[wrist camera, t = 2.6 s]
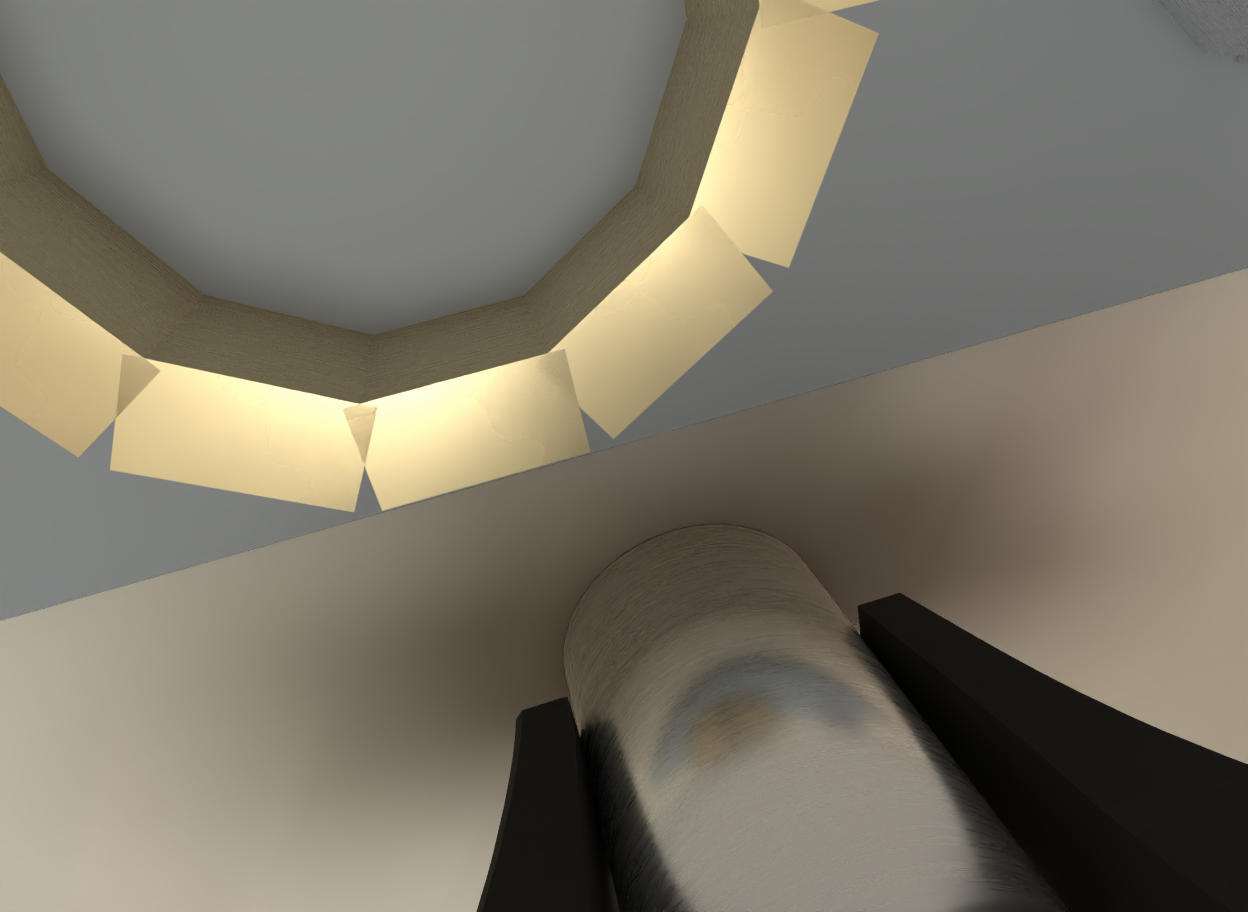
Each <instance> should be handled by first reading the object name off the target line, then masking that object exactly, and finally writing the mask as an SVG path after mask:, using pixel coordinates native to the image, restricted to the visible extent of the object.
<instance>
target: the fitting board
mask: <svg viewBox="0 0 1248 912" xmlns="http://www.w3.org/2000/svg"><path fill="white" fill-rule="evenodd" d="M830 13H833V14H835V15H837V16H840V17H842V18H845V19H847V20H849V21H852V22H854V23H856V24H859V25H861V26H863V27H866V28H868V29H870V30H873V31H875V32H878V33H879V35H878V37H877V40H876V42H875V45H874V48H873V50H872V53H871V55H870V58H869V61H868V63H867V66H866V68H865V71H864V74H863V76H862V79H861V81H860V84H859V87H858V89H857V92H856V94H855V97H854V100H853V102H852V105H851V107H850V110H849V113H848V115H847V118H846V120H845V123H844V126H843V128H842V131H841V133H840V136H839V139H838V141H837V144H836V146H835V149H834V152H833V154H832V157H831V159H830V162H829V165H828V167H827V170H826V172H825V175H824V178H823V180H822V183H821V185H820V188H819V191H818V193H817V196H816V198H815V201H814V204H813V206H812V209H811V212H810V214H809V217H808V219H807V222H806V225H805V227H804V230H803V232H802V235H801V238H800V240H799V243H798V245H797V248H796V251H795V253H794V256H793V258H792V261H791V264H790V266H789V268H788V267H785V266H781V265H778V264H775V263H772V262H768V261H765V260H762V259H759V258H755V257H752V256H749V255H746V254H743V255H744V256H745V258H746V259H747V260H748V261H749V263H750V264H751V265H752V266H753V267H754V269H755V270H756V271H757V272H758V274H759V275H760V276H761V277H762V278H763V280H764V281H765V282H766V283H767V285H768V286H769V287H770V288H771V289H772V291H773V292H772V293H771V294H770V295H768V296H767V297H766V298H765V299H764V300H763V301H762V302H761V303H760V304H759V305H758V306H757V307H756V308H754V309H753V310H752V311H751V312H750V313H749V314H748V315H747V316H746V317H745V318H744V319H743V320H741V321H740V322H739V323H738V324H737V325H736V326H735V327H734V328H733V329H732V330H731V331H730V332H729V333H727V334H726V335H725V336H724V337H723V338H722V339H721V340H720V341H719V342H718V343H717V344H716V345H715V346H713V347H712V348H711V349H710V350H709V351H708V352H707V353H706V354H705V355H704V356H703V357H702V358H700V359H699V360H698V361H697V362H696V363H695V364H694V365H693V366H692V367H691V368H690V369H689V370H688V371H686V372H685V373H684V374H683V375H682V376H681V377H680V378H679V379H678V380H677V381H676V382H675V383H674V384H672V385H671V386H670V387H669V388H668V389H667V390H666V391H665V392H664V393H663V394H662V395H661V396H659V397H658V398H657V399H656V400H655V401H654V402H653V403H652V404H651V405H650V406H649V407H648V408H647V409H645V410H644V411H643V412H642V413H641V414H640V415H639V416H638V417H637V418H636V419H635V420H634V421H633V422H631V423H630V424H629V425H628V426H627V427H626V428H625V429H624V430H623V431H622V432H621V433H620V434H618V435H617V436H616V437H615V438H614V439H613V438H612V437H611V436H610V435H609V434H608V433H607V432H605V431H604V430H603V429H602V428H601V427H600V426H599V425H598V424H597V423H596V422H595V421H594V420H593V419H592V418H591V417H590V416H589V415H588V414H587V413H585V412H584V411H583V410H582V409H581V408H580V407H579V408H580V412H581V416H582V419H583V423H584V427H585V431H586V435H587V439H588V443H589V447H590V451H591V452H589V453H585V454H582V455H578V456H574V457H571V458H567V459H564V460H560V461H557V462H553V463H550V464H546V465H543V466H539V467H536V468H532V469H529V470H525V471H521V472H518V473H514V474H511V475H507V476H504V477H500V478H497V479H493V480H490V481H486V482H483V483H479V484H476V485H472V486H468V487H465V488H461V489H458V490H454V491H451V492H447V493H444V494H440V495H437V496H433V497H430V498H426V499H422V500H419V501H415V502H412V503H408V504H405V505H401V506H398V507H394V508H391V509H387V510H384V511H382V509H381V507H380V504H379V502H378V499H377V496H376V494H375V491H374V489H373V486H372V484H371V481H370V479H369V476H368V474H367V471H366V468H365V466H364V471H363V475H362V480H361V484H360V488H359V493H358V497H357V502H356V506H355V511H354V512H350V511H344V510H338V509H332V508H327V507H321V506H315V505H309V504H303V503H298V502H292V501H286V500H280V499H275V498H269V497H263V496H257V495H252V494H246V493H240V492H234V491H228V490H223V489H217V488H211V487H205V486H200V485H194V484H188V483H182V482H176V481H171V480H165V479H159V478H153V477H148V476H142V475H136V474H130V473H125V472H119V471H113V470H110V464H111V455H112V446H113V437H114V427H115V420H114V421H113V422H112V423H111V424H110V425H109V426H108V427H107V428H106V429H105V430H104V431H103V432H102V433H101V434H100V435H99V436H98V438H97V439H96V440H95V441H94V442H93V443H92V444H91V445H90V446H89V447H88V448H87V449H86V450H85V451H84V452H83V453H82V454H81V455H80V456H79V458H78V457H77V456H75V455H74V454H72V453H71V452H69V451H68V450H66V449H65V448H63V447H62V446H60V445H59V444H57V443H55V442H54V441H52V440H51V439H49V438H48V437H46V436H45V435H43V434H42V433H40V432H39V431H37V430H36V429H34V428H33V427H31V426H30V425H28V424H27V423H25V422H24V421H22V420H20V419H19V418H17V417H16V416H14V415H13V414H11V413H10V412H8V411H7V410H5V409H4V408H2V407H1V406H0V621H1V620H5V619H8V618H12V617H15V616H19V615H23V614H26V613H30V612H33V611H37V610H40V609H44V608H47V607H51V606H54V605H58V604H61V603H65V602H68V601H72V600H76V599H79V598H83V597H86V596H90V595H93V594H97V593H100V592H104V591H107V590H111V589H114V588H118V587H121V586H125V585H129V584H132V583H136V582H139V581H143V580H146V579H150V578H153V577H157V576H160V575H164V574H167V573H171V572H174V571H178V570H182V569H185V568H189V567H192V566H196V565H199V564H203V563H206V562H210V561H213V560H217V559H220V558H224V557H227V556H231V555H235V554H238V553H242V552H245V551H249V550H252V549H256V548H259V547H263V546H266V545H270V544H273V543H277V542H280V541H284V540H287V539H291V538H295V537H298V536H302V535H305V534H309V533H312V532H316V531H319V530H323V529H326V528H330V527H333V526H337V525H340V524H344V523H348V522H351V521H355V520H358V519H362V518H365V517H369V516H372V515H376V514H379V513H383V512H386V511H390V510H393V509H397V508H401V507H404V506H408V505H411V504H415V503H418V502H422V501H425V500H429V499H432V498H436V497H439V496H443V495H446V494H450V493H454V492H457V491H461V490H464V489H468V488H471V487H475V486H478V485H482V484H485V483H489V482H492V481H496V480H499V479H503V478H507V477H510V476H514V475H517V474H521V473H524V472H528V471H531V470H535V469H538V468H542V467H545V466H549V465H552V464H556V463H560V462H563V461H567V460H570V459H574V458H577V457H581V456H584V455H588V454H591V453H595V452H598V451H602V450H605V449H609V448H613V447H616V446H620V445H623V444H627V443H630V442H634V441H637V440H641V439H644V438H648V437H651V436H655V435H658V434H662V433H666V432H669V431H673V430H676V429H680V428H683V427H687V426H690V425H694V424H697V423H701V422H704V421H708V420H711V419H715V418H718V417H722V416H726V415H729V414H733V413H736V412H740V411H743V410H747V409H750V408H754V407H757V406H761V405H764V404H768V403H771V402H775V401H779V400H782V399H786V398H789V397H793V396H796V395H800V394H803V393H807V392H810V391H814V390H817V389H821V388H824V387H828V386H832V385H835V384H839V383H842V382H846V381H849V380H853V379H856V378H860V377H863V376H867V375H870V374H874V373H877V372H881V371H885V370H888V369H892V368H895V367H899V366H902V365H906V364H909V363H913V362H916V361H920V360H923V359H927V358H930V357H934V356H938V355H941V354H945V353H948V352H952V351H955V350H959V349H962V348H966V347H969V346H973V345H976V344H980V343H983V342H987V341H991V340H994V339H998V338H1001V337H1005V336H1008V335H1012V334H1015V333H1019V332H1022V331H1026V330H1029V329H1033V328H1036V327H1040V326H1044V325H1047V324H1051V323H1054V322H1058V321H1061V320H1065V319H1068V318H1072V317H1075V316H1079V315H1082V314H1086V313H1089V312H1093V311H1097V310H1100V309H1104V308H1107V307H1111V306H1114V305H1118V304H1121V303H1125V302H1128V301H1132V300H1135V299H1139V298H1142V297H1146V296H1149V295H1153V294H1157V293H1160V292H1164V291H1167V290H1171V289H1174V288H1178V287H1181V286H1185V285H1188V284H1192V283H1195V282H1199V281H1202V280H1206V279H1210V278H1213V277H1217V276H1220V275H1224V274H1227V273H1231V272H1234V271H1238V270H1241V269H1245V268H1248V63H1237V55H1206V54H1205V53H1204V52H1203V51H1202V50H1201V49H1200V48H1199V47H1198V46H1197V44H1196V43H1195V42H1194V41H1193V40H1192V39H1191V38H1190V37H1189V36H1188V35H1187V34H1186V32H1185V31H1184V30H1183V29H1182V28H1181V27H1180V26H1179V25H1178V24H1177V23H1176V21H1175V20H1174V19H1173V18H1172V17H1171V16H1170V15H1169V14H1168V13H1167V12H1166V10H1165V9H1164V8H1163V7H1162V6H1161V5H1160V4H1159V3H1158V2H1157V1H1156V0H878V1H874V2H870V3H866V4H861V5H857V6H853V7H849V8H844V9H840V10H836V11H832V12H830ZM686 20H687V17H686V10H685V4H684V0H0V74H1V76H2V78H3V80H4V82H5V84H6V86H7V88H8V90H9V92H10V94H11V96H12V98H13V100H14V102H15V104H16V106H17V108H18V110H19V112H20V114H21V116H22V118H23V120H24V122H25V124H26V126H27V128H28V130H29V132H30V134H31V136H32V138H33V140H34V142H35V144H36V146H37V148H38V150H39V152H40V154H41V156H42V158H43V160H44V162H45V164H46V166H47V168H48V169H49V170H50V171H51V172H53V173H54V174H55V175H56V176H58V177H59V178H60V179H61V180H63V181H64V182H65V183H66V184H68V185H69V186H70V187H71V188H73V189H74V190H75V191H76V192H78V193H79V194H80V195H81V196H83V197H84V198H85V199H86V200H88V201H89V202H90V203H91V204H92V205H94V206H95V207H96V208H97V209H99V210H100V211H101V212H102V213H104V214H105V215H106V216H107V217H109V218H110V219H111V220H112V221H114V222H115V223H116V224H117V225H119V226H120V227H121V228H122V229H124V230H125V231H126V232H127V233H129V234H130V235H131V236H132V237H134V238H135V239H136V240H137V241H139V242H140V243H141V244H142V245H143V246H145V247H146V248H147V249H148V250H150V251H151V252H152V253H153V254H155V255H156V256H157V257H158V258H160V259H161V260H162V261H163V262H165V263H166V264H167V265H168V266H170V267H171V268H172V269H173V270H175V271H176V272H177V273H178V274H180V275H181V276H182V277H183V278H185V279H186V280H187V281H188V282H189V283H191V284H192V285H193V286H194V287H196V288H197V289H198V290H199V291H201V292H202V293H203V294H204V295H208V296H212V297H216V298H220V299H225V300H229V301H233V302H237V303H241V304H246V305H250V306H254V307H258V308H262V309H267V310H271V311H275V312H279V313H283V314H287V315H292V316H296V317H300V318H304V319H308V320H313V321H317V322H321V323H325V324H329V325H334V326H338V327H342V328H346V329H350V330H355V331H359V332H363V333H367V334H371V335H375V334H379V333H382V332H386V331H390V330H394V329H398V328H401V327H405V326H409V325H413V324H417V323H421V322H424V321H428V320H432V319H436V318H440V317H443V316H447V315H451V314H455V313H459V312H463V311H466V310H470V309H474V308H478V307H482V306H485V305H489V304H493V303H497V302H501V301H505V300H508V299H512V298H516V297H520V296H524V295H525V294H526V293H527V292H528V291H529V290H530V289H531V288H532V287H533V286H534V285H535V284H536V283H537V282H538V281H539V280H540V279H541V278H542V277H543V276H544V275H545V274H546V273H547V272H548V271H549V270H550V269H551V268H552V267H553V266H554V265H555V264H556V263H557V262H558V261H559V260H560V259H561V258H562V257H563V256H565V255H566V254H567V253H568V252H569V251H570V250H571V249H572V248H573V247H574V246H575V245H576V244H577V243H578V242H579V241H580V240H581V239H582V238H583V237H584V236H585V235H586V234H587V233H588V232H589V231H590V230H591V229H592V228H593V227H594V226H595V225H596V224H597V223H598V222H599V221H600V220H601V219H602V218H603V217H604V216H605V215H606V214H607V213H608V212H609V211H610V210H611V209H612V208H613V207H615V206H616V205H617V204H618V203H619V202H620V201H621V200H622V199H623V198H624V197H625V196H626V195H627V194H628V193H629V192H630V191H631V190H632V189H633V188H634V187H635V185H636V182H637V179H638V176H639V172H640V169H641V166H642V163H643V159H644V156H645V153H646V150H647V146H648V143H649V140H650V137H651V134H652V130H653V127H654V124H655V121H656V117H657V114H658V111H659V108H660V104H661V101H662V98H663V95H664V91H665V88H666V85H667V82H668V79H669V75H670V72H671V69H672V66H673V62H674V59H675V56H676V53H677V49H678V46H679V43H680V40H681V36H682V33H683V30H684V27H685V24H686Z"/></svg>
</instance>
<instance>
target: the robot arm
mask: <svg viewBox="0 0 1248 912" xmlns="http://www.w3.org/2000/svg"><path fill="white" fill-rule="evenodd" d="M858 614H859V624H860V635H861V637H862V639H863V640H864V641H865V643H866V644H867V645H868V647H869V648H870V649H871V651H872V652H873V653H874V654H875V656H876V657H877V658H878V660H879V661H880V662H881V664H882V665H883V666H884V668H885V669H886V670H887V672H888V673H889V674H890V676H891V677H892V678H893V680H894V681H895V682H896V683H897V685H898V686H899V687H900V689H901V690H902V691H903V693H904V694H905V695H906V697H907V698H908V699H909V701H910V702H911V703H912V705H913V706H914V707H915V709H916V710H917V711H918V712H919V714H920V715H921V716H922V718H923V719H924V720H925V722H926V723H927V724H928V726H929V727H930V728H931V730H932V731H933V732H934V734H935V735H936V736H937V738H938V739H939V740H940V741H941V743H942V744H943V745H944V747H945V748H946V749H947V751H948V752H949V753H950V755H951V756H952V757H953V759H954V760H955V761H956V763H957V764H958V765H959V767H960V768H961V769H962V770H963V772H964V773H965V774H966V776H967V777H968V778H969V780H970V781H971V782H972V784H973V785H974V786H975V788H976V789H977V790H978V792H979V793H980V794H981V796H982V797H983V798H984V799H985V801H986V802H987V803H988V805H989V806H990V807H991V809H992V810H993V811H994V813H995V814H996V815H997V817H998V818H999V819H1000V821H1001V822H1002V823H1003V825H1004V826H1005V827H1006V828H1007V830H1008V831H1009V832H1010V834H1011V835H1012V836H1013V838H1014V839H1015V840H1016V842H1017V843H1018V844H1019V846H1020V847H1021V848H1022V850H1023V851H1024V852H1025V854H1026V855H1027V856H1028V857H1029V859H1030V860H1031V861H1032V863H1033V864H1034V865H1035V867H1036V868H1037V869H1038V871H1039V872H1040V873H1041V875H1042V876H1043V877H1044V879H1045V880H1046V881H1047V883H1048V884H1049V885H1050V886H1051V888H1052V889H1053V890H1054V892H1055V893H1056V894H1057V896H1058V897H1059V898H1060V900H1061V901H1062V902H1063V904H1064V905H1065V906H1066V908H1067V909H1068V910H1069V912H1248V764H1245V763H1243V762H1240V761H1237V760H1235V759H1232V758H1229V757H1227V756H1224V755H1222V754H1219V753H1217V752H1214V751H1212V750H1209V749H1207V748H1204V747H1202V746H1199V745H1197V744H1194V743H1192V742H1190V741H1187V740H1185V739H1182V738H1180V737H1177V736H1175V735H1172V734H1170V733H1167V732H1165V731H1162V730H1160V729H1158V728H1156V727H1153V726H1151V725H1149V724H1146V723H1144V722H1142V721H1140V720H1137V719H1135V718H1133V717H1131V716H1129V715H1126V714H1124V713H1122V712H1120V711H1118V710H1116V709H1114V708H1112V707H1110V706H1107V705H1105V704H1103V703H1101V702H1099V701H1097V700H1095V699H1093V698H1091V697H1089V696H1086V695H1084V694H1082V693H1080V692H1078V691H1076V690H1074V689H1072V688H1070V687H1068V686H1066V685H1064V684H1062V683H1060V682H1058V681H1056V680H1054V679H1052V678H1050V677H1049V676H1047V675H1045V674H1043V673H1041V672H1039V671H1037V670H1035V669H1034V668H1032V667H1030V666H1028V665H1026V664H1024V663H1022V662H1020V661H1019V660H1017V659H1015V658H1013V657H1011V656H1009V655H1007V654H1006V653H1004V652H1002V651H1000V650H998V649H997V648H995V647H993V646H991V645H990V644H988V643H986V642H984V641H983V640H981V639H979V638H977V637H976V636H974V635H972V634H970V633H969V632H967V631H965V630H963V629H962V628H960V627H958V626H956V625H955V624H953V623H951V622H949V621H948V620H946V619H944V618H943V617H941V616H939V615H937V614H936V613H934V612H932V611H930V610H929V609H927V608H925V607H924V606H922V605H920V604H918V603H917V602H915V601H913V600H911V599H910V598H908V597H906V596H904V595H903V594H901V593H898V594H894V595H891V596H888V597H885V598H881V599H878V600H875V601H872V602H869V603H865V604H862V605H859V606H858ZM477 912H620V911H619V907H618V902H617V898H616V894H615V889H614V885H613V880H612V876H611V872H610V867H609V863H608V859H607V854H606V850H605V845H604V841H603V837H602V832H601V828H600V823H599V819H598V814H597V810H596V805H595V801H594V796H593V791H592V787H591V782H590V778H589V774H588V769H587V765H586V761H585V756H584V752H583V747H582V743H581V739H580V735H579V732H578V729H577V725H576V722H575V719H574V716H573V713H572V709H571V706H570V703H569V700H568V697H564V698H560V699H557V700H554V701H551V702H548V703H544V704H541V705H538V706H535V707H531V708H528V709H525V710H522V712H521V713H520V715H519V716H518V717H517V719H516V732H515V743H514V752H513V759H512V766H511V772H510V778H509V783H508V789H507V794H506V800H505V805H504V809H503V813H502V818H501V822H500V826H499V831H498V835H497V839H496V844H495V848H494V852H493V856H492V860H491V864H490V868H489V871H488V875H487V878H486V882H485V885H484V889H483V892H482V895H481V899H480V902H479V906H478V909H477Z"/></svg>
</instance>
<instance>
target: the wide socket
mask: <svg viewBox="0 0 1248 912" xmlns="http://www.w3.org/2000/svg"><path fill="white" fill-rule="evenodd" d="M874 1H878V0H684V4H685V10H686V17H687V20H686V24H685V27H684V30H683V33H682V36H681V40H680V43H679V46H678V49H677V53H676V56H675V59H674V62H673V66H672V69H671V72H670V75H669V79H668V82H667V85H666V88H665V91H664V95H663V98H662V101H661V104H660V108H659V111H658V114H657V117H656V121H655V124H654V127H653V130H652V134H651V137H650V140H649V143H648V146H647V150H646V153H645V156H644V159H643V163H642V166H641V169H640V172H639V176H638V179H637V182H636V185H635V187H634V188H633V189H632V190H631V191H630V192H629V193H628V194H627V195H626V196H625V197H624V198H623V199H622V200H621V201H620V202H619V203H618V204H617V205H616V206H615V207H613V208H612V209H611V210H610V211H609V212H608V213H607V214H606V215H605V216H604V217H603V218H602V219H601V220H600V221H599V222H598V223H597V224H596V225H595V226H594V227H593V228H592V229H591V230H590V231H589V232H588V233H587V234H586V235H585V236H584V237H583V238H582V239H581V240H580V241H579V242H578V243H577V244H576V245H575V246H574V247H573V248H572V249H571V250H570V251H569V252H568V253H567V254H566V255H565V256H563V257H562V258H561V259H560V260H559V261H558V262H557V263H556V264H555V265H554V266H553V267H552V268H551V269H550V270H549V271H548V272H547V273H546V274H545V275H544V276H543V277H542V278H541V279H540V280H539V281H538V282H537V283H536V284H535V285H534V286H533V287H532V288H531V289H530V290H529V291H528V292H527V293H526V294H525V295H524V296H520V297H516V298H512V299H508V300H505V301H501V302H497V303H493V304H489V305H485V306H482V307H478V308H474V309H470V310H466V311H463V312H459V313H455V314H451V315H447V316H443V317H440V318H436V319H432V320H428V321H424V322H421V323H417V324H413V325H409V326H405V327H401V328H398V329H394V330H390V331H386V332H382V333H379V334H375V335H371V334H367V333H363V332H359V331H355V330H350V329H346V328H342V327H338V326H334V325H329V324H325V323H321V322H317V321H313V320H308V319H304V318H300V317H296V316H292V315H287V314H283V313H279V312H275V311H271V310H267V309H262V308H258V307H254V306H250V305H246V304H241V303H237V302H233V301H229V300H225V299H220V298H216V297H212V296H208V295H204V294H203V293H202V292H201V291H199V290H198V289H197V288H196V287H194V286H193V285H192V284H191V283H189V282H188V281H187V280H186V279H185V278H183V277H182V276H181V275H180V274H178V273H177V272H176V271H175V270H173V269H172V268H171V267H170V266H168V265H167V264H166V263H165V262H163V261H162V260H161V259H160V258H158V257H157V256H156V255H155V254H153V253H152V252H151V251H150V250H148V249H147V248H146V247H145V246H143V245H142V244H141V243H140V242H139V241H137V240H136V239H135V238H134V237H132V236H131V235H130V234H129V233H127V232H126V231H125V230H124V229H122V228H121V227H120V226H119V225H117V224H116V223H115V222H114V221H112V220H111V219H110V218H109V217H107V216H106V215H105V214H104V213H102V212H101V211H100V210H99V209H97V208H96V207H95V206H94V205H92V204H91V203H90V202H89V201H88V200H86V199H85V198H84V197H83V196H81V195H80V194H79V193H78V192H76V191H75V190H74V189H73V188H71V187H70V186H69V185H68V184H66V183H65V182H64V181H63V180H61V179H60V178H59V177H58V176H56V175H55V174H54V173H53V172H51V171H50V170H49V169H48V168H47V166H46V164H45V162H44V160H43V158H42V156H41V154H40V152H39V150H38V148H37V146H36V144H35V142H34V140H33V138H32V136H31V134H30V132H29V130H28V128H27V126H26V124H25V122H24V120H23V118H22V116H21V114H20V112H19V110H18V108H17V106H16V104H15V102H14V100H13V98H12V96H11V94H10V92H9V90H8V88H7V86H6V84H5V82H4V80H3V78H2V76H1V74H0V406H1V407H2V408H4V409H5V410H7V411H8V412H10V413H11V414H13V415H14V416H16V417H17V418H19V419H20V420H22V421H24V422H25V423H27V424H28V425H30V426H31V427H33V428H34V429H36V430H37V431H39V432H40V433H42V434H43V435H45V436H46V437H48V438H49V439H51V440H52V441H54V442H55V443H57V444H59V445H60V446H62V447H63V448H65V449H66V450H68V451H69V452H71V453H72V454H74V455H75V456H77V457H78V458H79V456H80V455H81V454H82V453H83V452H84V451H85V450H86V449H87V448H88V447H89V446H90V445H91V444H92V443H93V442H94V441H95V440H96V439H97V438H98V436H99V435H100V434H101V433H102V432H103V431H104V430H105V429H106V428H107V427H108V426H109V425H110V424H111V423H112V422H113V421H114V420H115V427H114V437H113V446H112V455H111V464H110V470H113V471H119V472H125V473H130V474H136V475H142V476H148V477H153V478H159V479H165V480H171V481H176V482H182V483H188V484H194V485H200V486H205V487H211V488H217V489H223V490H228V491H234V492H240V493H246V494H252V495H257V496H263V497H269V498H275V499H280V500H286V501H292V502H298V503H303V504H309V505H315V506H321V507H327V508H332V509H338V510H344V511H350V512H354V511H355V506H356V502H357V497H358V493H359V488H360V484H361V480H362V475H363V471H364V466H365V468H366V471H367V474H368V476H369V479H370V481H371V484H372V486H373V489H374V491H375V494H376V496H377V499H378V502H379V504H380V507H381V509H382V511H384V510H387V509H391V508H394V507H398V506H401V505H405V504H408V503H412V502H415V501H419V500H422V499H426V498H430V497H433V496H437V495H440V494H444V493H447V492H451V491H454V490H458V489H461V488H465V487H468V486H472V485H476V484H479V483H483V482H486V481H490V480H493V479H497V478H500V477H504V476H507V475H511V474H514V473H518V472H521V471H525V470H529V469H532V468H536V467H539V466H543V465H546V464H550V463H553V462H557V461H560V460H564V459H567V458H571V457H574V456H578V455H582V454H585V453H589V452H591V451H590V447H589V443H588V439H587V435H586V431H585V427H584V423H583V419H582V416H581V412H580V408H581V409H582V410H583V411H584V412H585V413H587V414H588V415H589V416H590V417H591V418H592V419H593V420H594V421H595V422H596V423H597V424H598V425H599V426H600V427H601V428H602V429H603V430H604V431H605V432H607V433H608V434H609V435H610V436H611V437H612V438H613V439H614V438H615V437H616V436H617V435H618V434H620V433H621V432H622V431H623V430H624V429H625V428H626V427H627V426H628V425H629V424H630V423H631V422H633V421H634V420H635V419H636V418H637V417H638V416H639V415H640V414H641V413H642V412H643V411H644V410H645V409H647V408H648V407H649V406H650V405H651V404H652V403H653V402H654V401H655V400H656V399H657V398H658V397H659V396H661V395H662V394H663V393H664V392H665V391H666V390H667V389H668V388H669V387H670V386H671V385H672V384H674V383H675V382H676V381H677V380H678V379H679V378H680V377H681V376H682V375H683V374H684V373H685V372H686V371H688V370H689V369H690V368H691V367H692V366H693V365H694V364H695V363H696V362H697V361H698V360H699V359H700V358H702V357H703V356H704V355H705V354H706V353H707V352H708V351H709V350H710V349H711V348H712V347H713V346H715V345H716V344H717V343H718V342H719V341H720V340H721V339H722V338H723V337H724V336H725V335H726V334H727V333H729V332H730V331H731V330H732V329H733V328H734V327H735V326H736V325H737V324H738V323H739V322H740V321H741V320H743V319H744V318H745V317H746V316H747V315H748V314H749V313H750V312H751V311H752V310H753V309H754V308H756V307H757V306H758V305H759V304H760V303H761V302H762V301H763V300H764V299H765V298H766V297H767V296H768V295H770V294H771V293H772V292H773V291H772V289H771V288H770V287H769V286H768V285H767V283H766V282H765V281H764V280H763V278H762V277H761V276H760V275H759V274H758V272H757V271H756V270H755V269H754V267H753V266H752V265H751V264H750V263H749V261H748V260H747V259H746V258H745V256H744V255H743V254H746V255H749V256H752V257H755V258H759V259H762V260H765V261H768V262H772V263H775V264H778V265H781V266H785V267H788V268H789V266H790V264H791V261H792V258H793V256H794V253H795V251H796V248H797V245H798V243H799V240H800V238H801V235H802V232H803V230H804V227H805V225H806V222H807V219H808V217H809V214H810V212H811V209H812V206H813V204H814V201H815V198H816V196H817V193H818V191H819V188H820V185H821V183H822V180H823V178H824V175H825V172H826V170H827V167H828V165H829V162H830V159H831V157H832V154H833V152H834V149H835V146H836V144H837V141H838V139H839V136H840V133H841V131H842V128H843V126H844V123H845V120H846V118H847V115H848V113H849V110H850V107H851V105H852V102H853V100H854V97H855V94H856V92H857V89H858V87H859V84H860V81H861V79H862V76H863V74H864V71H865V68H866V66H867V63H868V61H869V58H870V55H871V53H872V50H873V48H874V45H875V42H876V40H877V37H878V35H879V33H878V32H875V31H873V30H870V29H868V28H866V27H863V26H861V25H859V24H856V23H854V22H852V21H849V20H847V19H845V18H842V17H840V16H837V15H835V14H833V13H830V12H832V11H836V10H840V9H844V8H849V7H853V6H857V5H861V4H866V3H870V2H874ZM579 407H580V408H579Z"/></svg>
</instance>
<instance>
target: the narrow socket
mask: <svg viewBox="0 0 1248 912" xmlns="http://www.w3.org/2000/svg"><path fill="white" fill-rule="evenodd" d="M1156 1H1157V2H1158V3H1159V4H1160V5H1161V6H1162V7H1163V8H1164V9H1165V10H1166V12H1167V13H1168V14H1169V15H1170V16H1171V17H1172V18H1173V19H1174V20H1175V21H1176V23H1177V24H1178V25H1179V26H1180V27H1181V28H1182V29H1183V30H1184V31H1185V32H1186V34H1187V35H1188V36H1189V37H1190V38H1191V39H1192V40H1193V41H1194V42H1195V43H1196V44H1197V46H1198V47H1199V48H1200V49H1201V50H1202V51H1203V52H1204V53H1205V54H1206V55H1237V63H1248V0H1156Z"/></svg>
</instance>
